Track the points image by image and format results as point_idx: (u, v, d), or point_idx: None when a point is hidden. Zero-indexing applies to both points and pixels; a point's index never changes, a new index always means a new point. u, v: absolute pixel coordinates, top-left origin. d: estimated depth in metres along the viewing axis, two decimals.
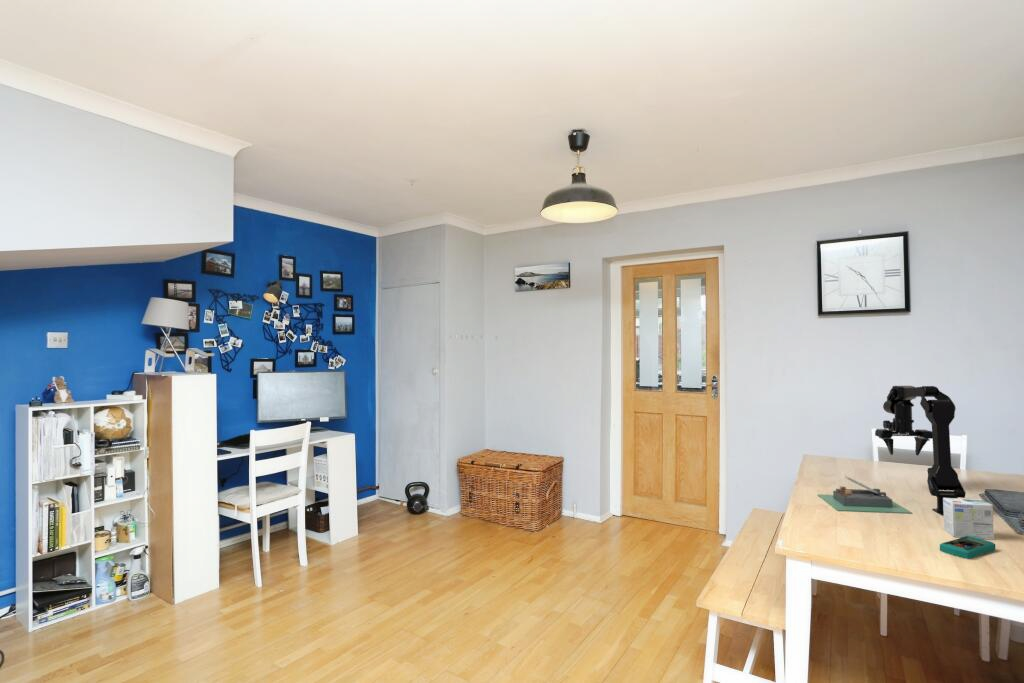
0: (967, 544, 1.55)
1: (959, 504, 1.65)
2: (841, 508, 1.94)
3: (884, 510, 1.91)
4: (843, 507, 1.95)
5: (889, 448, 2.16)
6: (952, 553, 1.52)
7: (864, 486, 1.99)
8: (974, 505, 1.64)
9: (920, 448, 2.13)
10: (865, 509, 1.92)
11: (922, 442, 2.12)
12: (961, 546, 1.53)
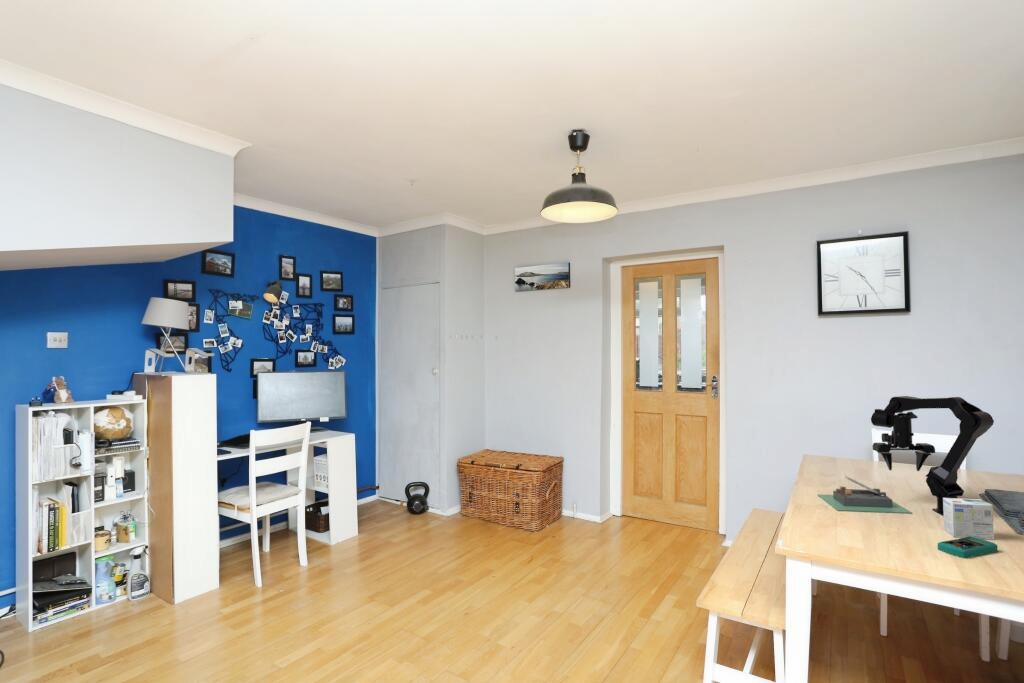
0: (967, 544, 1.55)
1: (959, 504, 1.65)
2: (841, 508, 1.94)
3: (884, 510, 1.91)
4: (843, 507, 1.95)
5: (887, 463, 2.02)
6: (949, 552, 1.53)
7: (864, 486, 1.99)
8: (974, 505, 1.64)
9: (921, 463, 1.99)
10: (865, 509, 1.92)
11: (923, 456, 1.98)
12: (959, 545, 1.53)
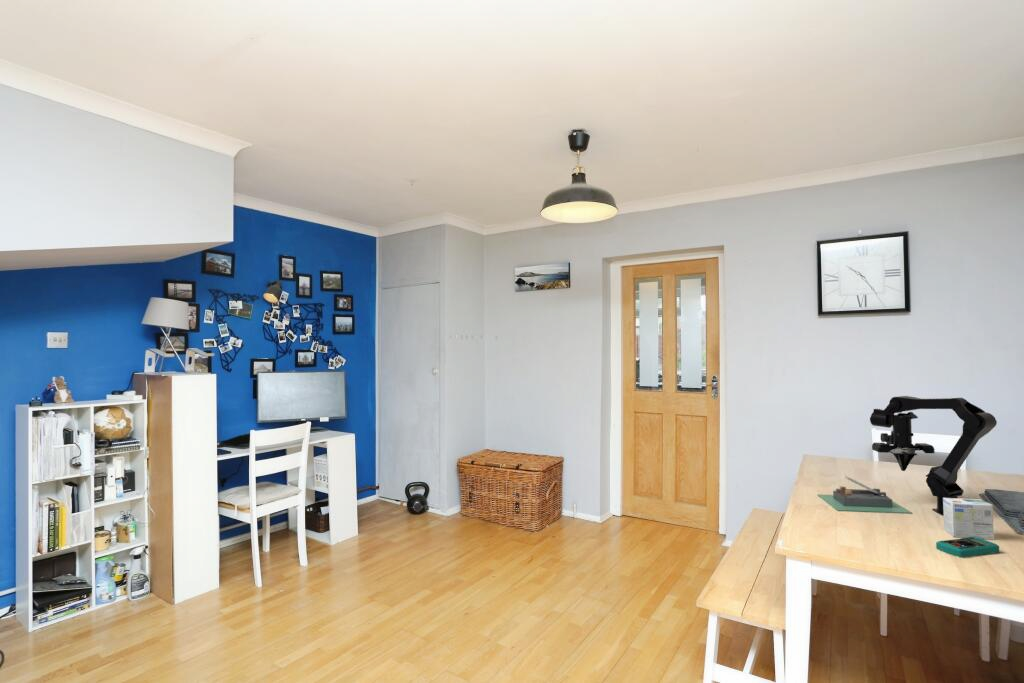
0: (967, 544, 1.55)
1: (959, 504, 1.65)
2: (841, 508, 1.94)
3: (884, 510, 1.91)
4: (843, 507, 1.95)
5: (900, 463, 2.01)
6: (946, 551, 1.53)
7: (864, 486, 1.99)
8: (974, 505, 1.64)
9: (907, 463, 1.99)
10: (865, 509, 1.92)
11: (909, 456, 1.98)
12: (957, 545, 1.54)
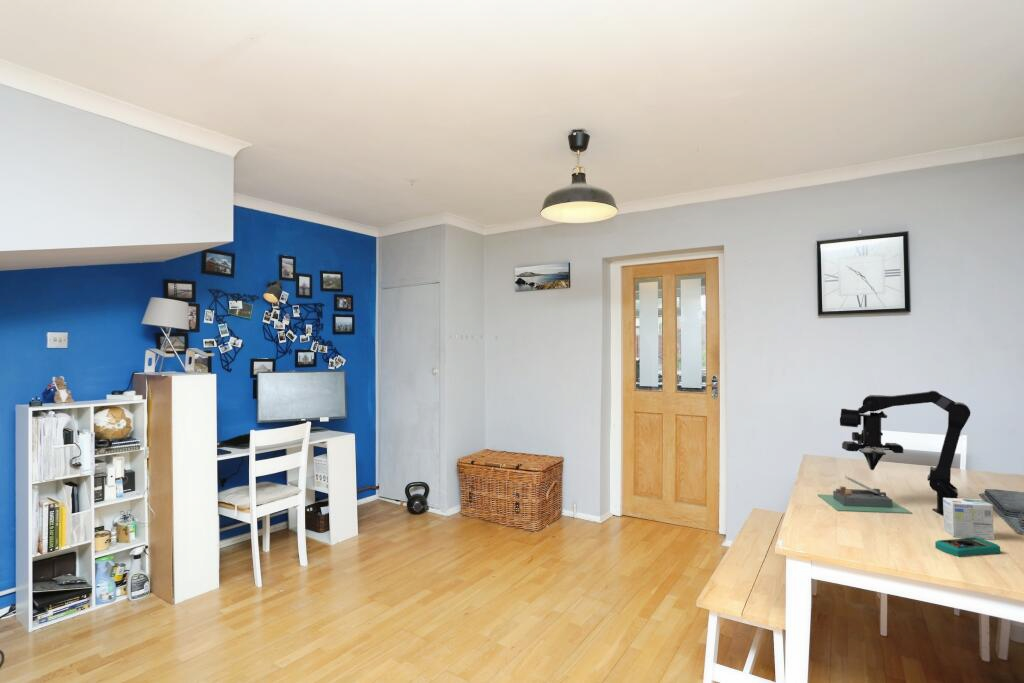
0: (966, 544, 1.55)
1: (959, 504, 1.65)
2: (841, 508, 1.94)
3: (884, 510, 1.91)
4: (843, 507, 1.95)
5: (869, 462, 2.01)
6: (944, 550, 1.54)
7: (864, 486, 1.99)
8: (974, 505, 1.64)
9: (875, 462, 1.99)
10: (865, 509, 1.92)
11: (878, 456, 1.98)
12: (956, 545, 1.54)
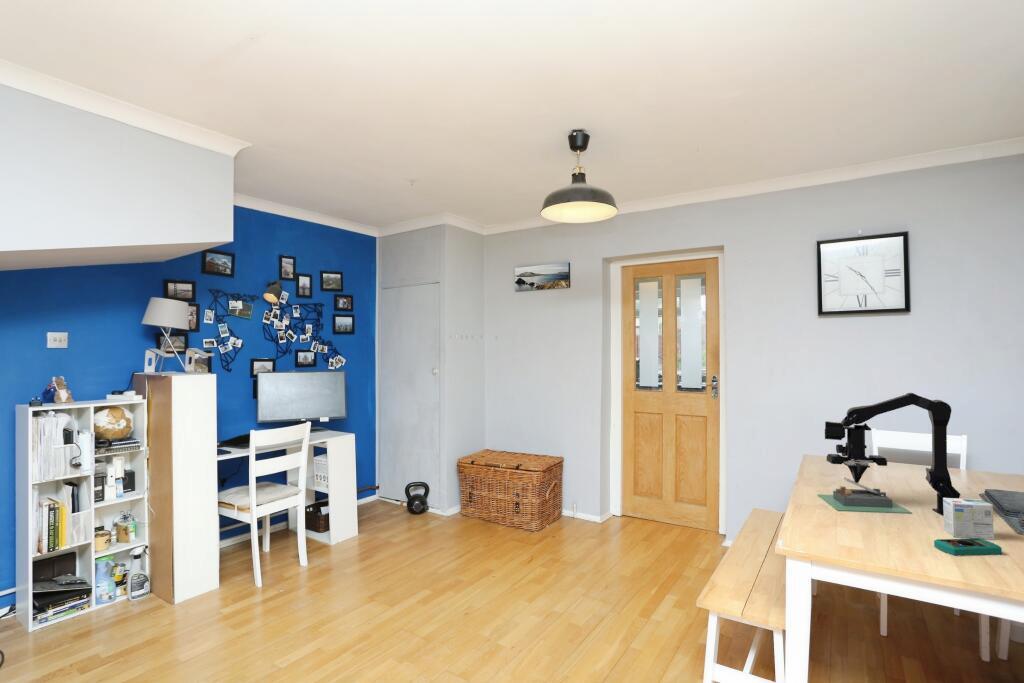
0: (966, 544, 1.55)
1: (959, 504, 1.65)
2: (841, 508, 1.94)
3: (884, 510, 1.91)
4: (843, 507, 1.95)
5: (853, 475, 2.00)
6: (941, 549, 1.55)
7: (864, 487, 1.99)
8: (974, 505, 1.64)
9: (860, 475, 1.99)
10: (865, 509, 1.92)
11: (862, 468, 1.98)
12: (955, 544, 1.55)
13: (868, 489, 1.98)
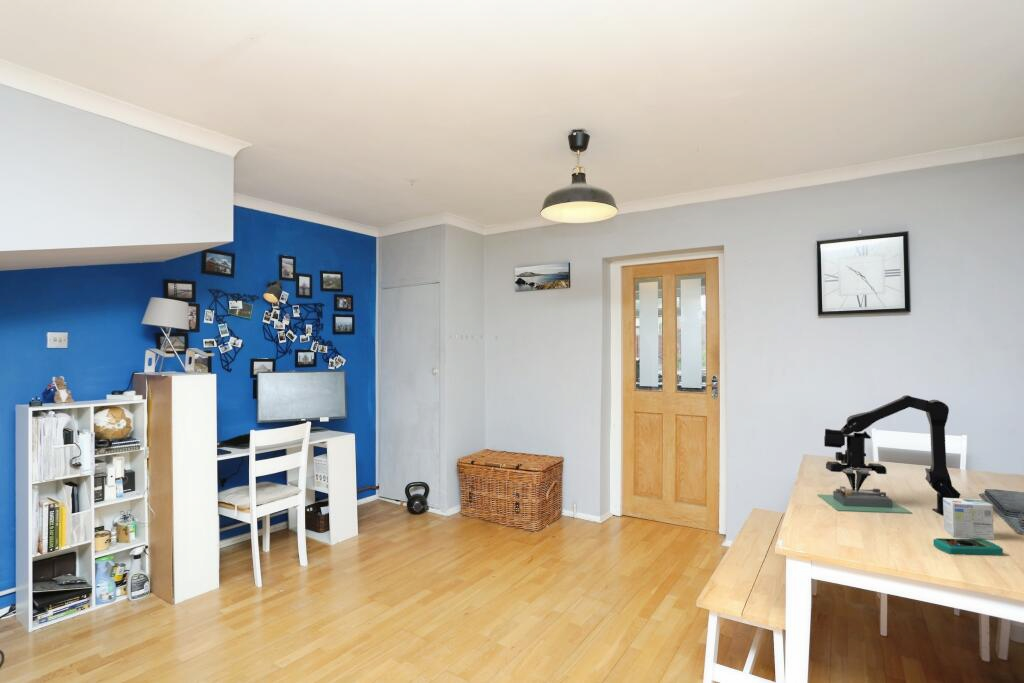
0: (966, 544, 1.55)
1: (959, 504, 1.65)
2: (841, 508, 1.94)
3: (884, 510, 1.91)
4: (843, 507, 1.95)
5: (851, 483, 2.00)
6: (939, 548, 1.56)
7: (862, 493, 1.99)
8: (974, 505, 1.64)
9: (860, 483, 1.99)
10: (865, 509, 1.92)
11: (863, 476, 1.98)
12: (953, 543, 1.55)
13: (867, 493, 1.98)
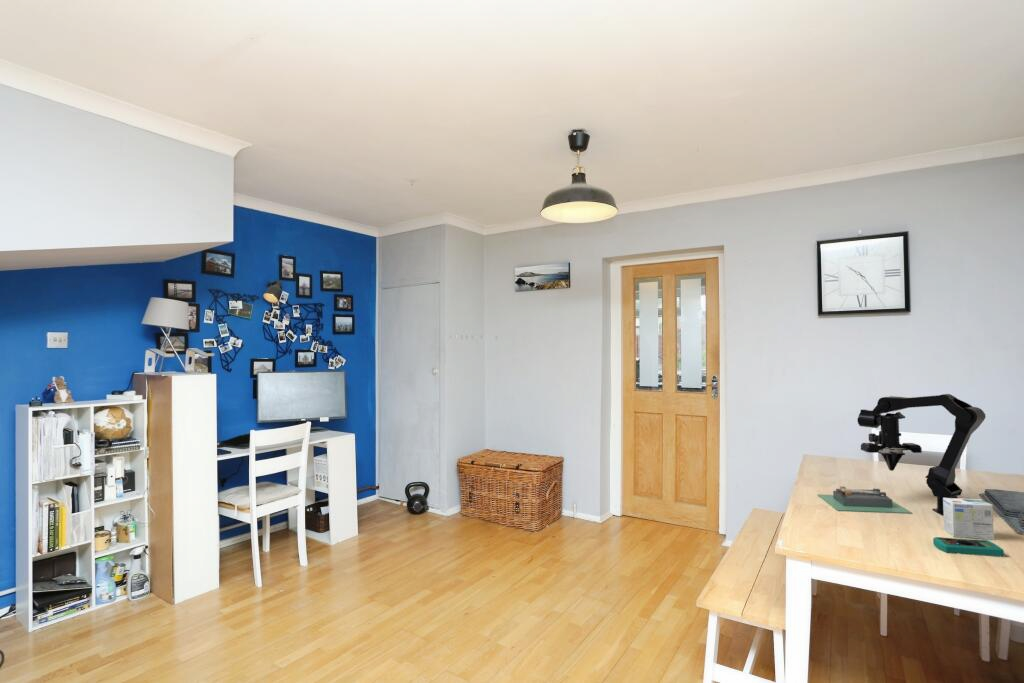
0: (966, 543, 1.55)
1: (959, 504, 1.65)
2: (841, 508, 1.94)
3: (884, 510, 1.91)
4: (843, 507, 1.95)
5: (888, 463, 2.02)
6: (936, 546, 1.57)
7: (862, 493, 1.99)
8: (974, 505, 1.64)
9: (895, 463, 2.01)
10: (865, 509, 1.92)
11: (897, 456, 2.00)
12: (951, 542, 1.56)
13: (867, 493, 1.98)
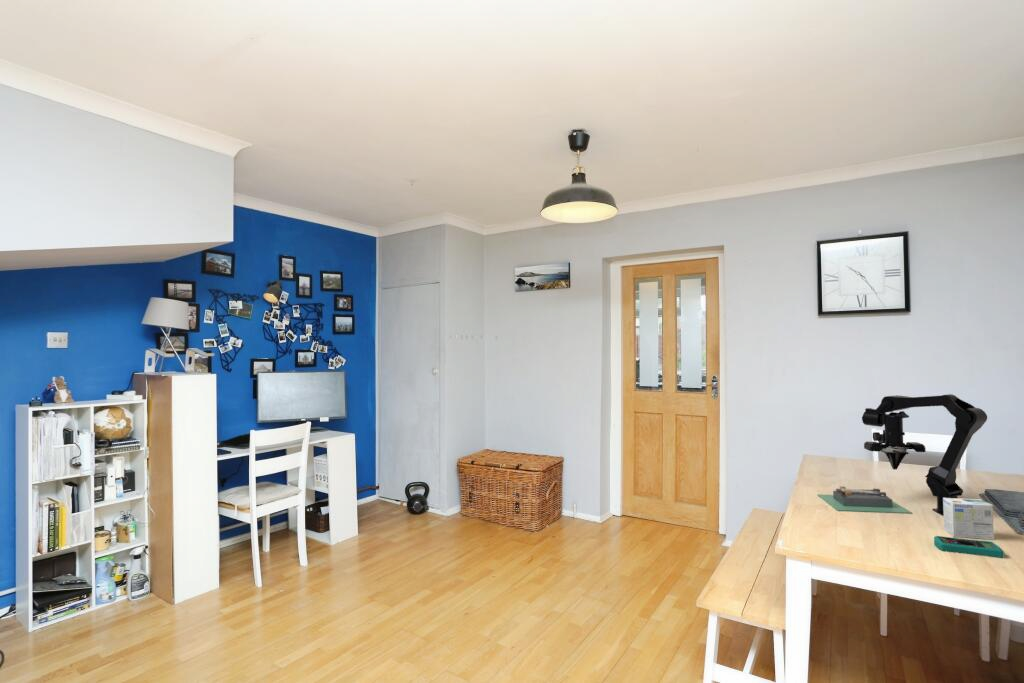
0: (966, 543, 1.55)
1: (959, 504, 1.65)
2: (841, 508, 1.94)
3: (884, 510, 1.91)
4: (843, 507, 1.95)
5: (891, 462, 2.03)
6: (935, 544, 1.59)
7: (862, 493, 1.99)
8: (974, 505, 1.64)
9: (898, 462, 2.02)
10: (865, 509, 1.92)
11: (901, 455, 2.00)
12: (950, 541, 1.57)
13: (867, 493, 1.98)
